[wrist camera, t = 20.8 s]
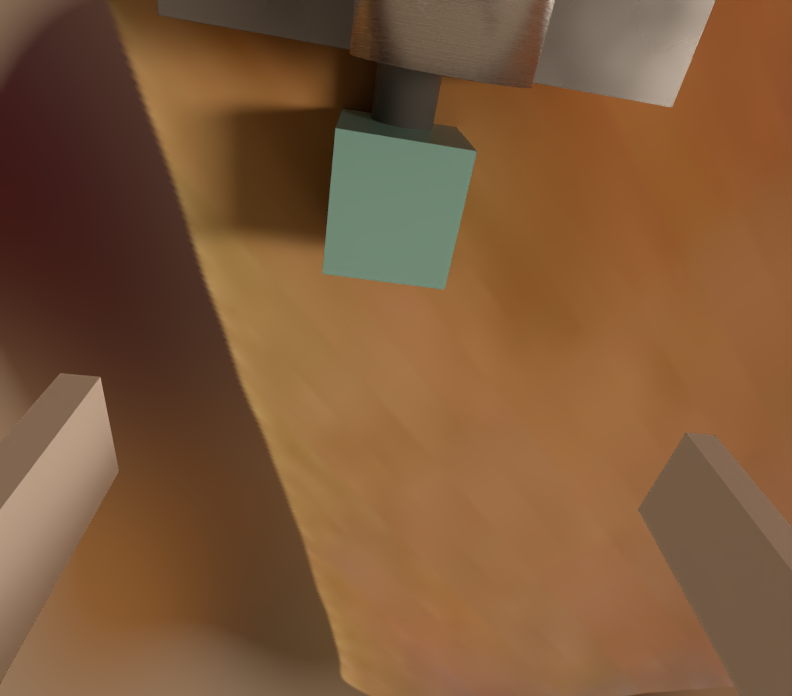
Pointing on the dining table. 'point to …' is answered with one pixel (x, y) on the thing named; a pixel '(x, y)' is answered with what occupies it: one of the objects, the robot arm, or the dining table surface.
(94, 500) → the robot arm
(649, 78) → the housing
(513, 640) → the dining table surface
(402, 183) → the mallet
